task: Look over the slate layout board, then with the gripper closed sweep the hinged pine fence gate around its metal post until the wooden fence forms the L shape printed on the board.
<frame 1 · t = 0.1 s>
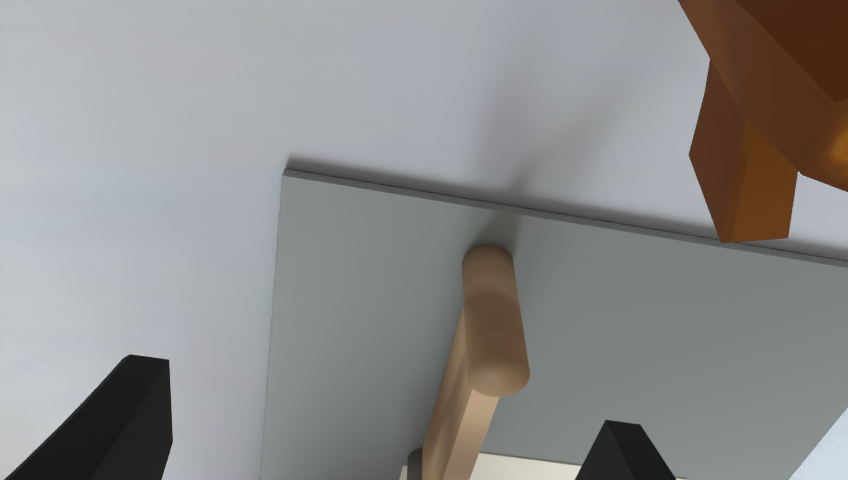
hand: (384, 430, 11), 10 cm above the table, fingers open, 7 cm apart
fence gate: (461, 410, 22), point 3 cm above the table, hinge at 0.0°
layout board: (530, 448, 27), on the table
fence base: (427, 451, 27), resting on layout board
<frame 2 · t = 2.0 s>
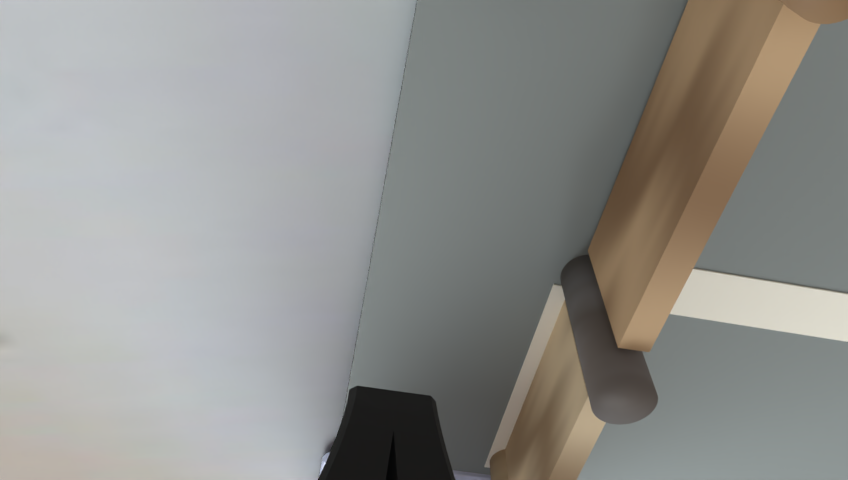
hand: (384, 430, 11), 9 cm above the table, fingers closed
fence gate: (693, 136, 15), point 3 cm above the table, hinge at 0.0°
layout board: (721, 262, 21), on the table
fence base: (584, 267, 21), resting on layout board
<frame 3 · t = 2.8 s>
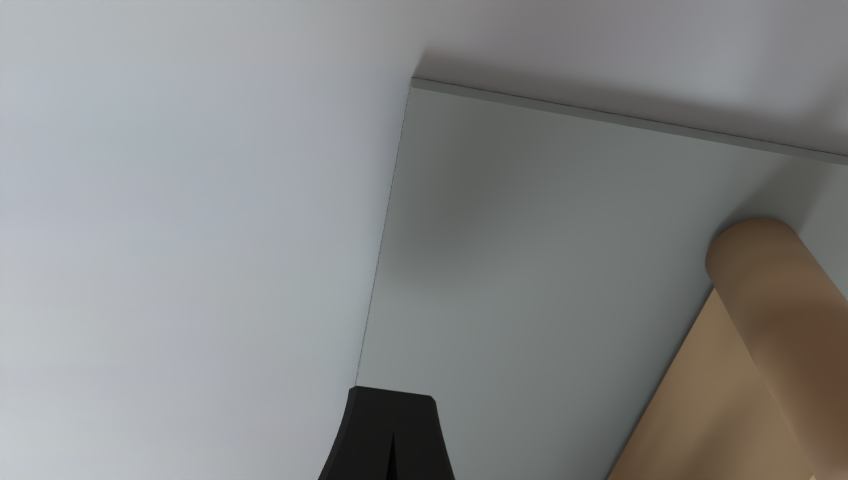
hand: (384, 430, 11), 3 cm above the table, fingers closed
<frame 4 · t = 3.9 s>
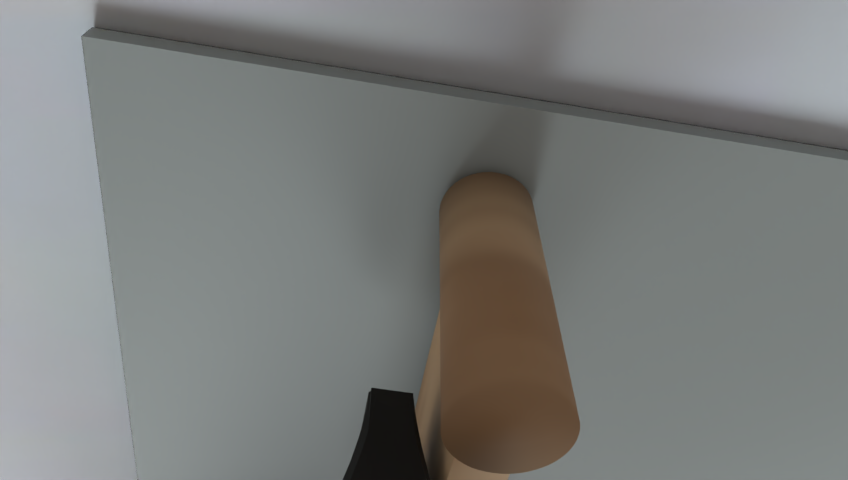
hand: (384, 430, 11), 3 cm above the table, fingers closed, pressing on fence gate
fence gate: (442, 475, 12), point 3 cm above the table, hinge at 0.3°, touching gripper
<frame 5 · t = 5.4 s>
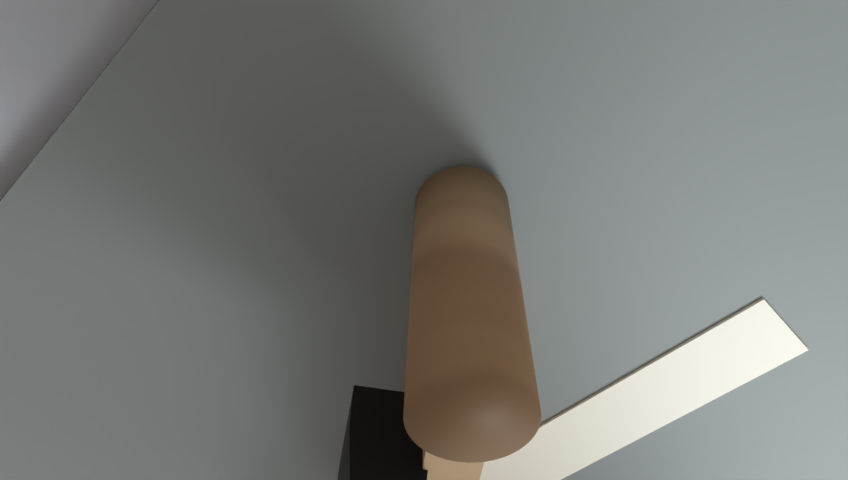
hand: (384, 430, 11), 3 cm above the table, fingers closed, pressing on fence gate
fence gate: (432, 469, 12), point 3 cm above the table, hinge at 50.6°, touching gripper
layout board: (496, 431, 16), on the table
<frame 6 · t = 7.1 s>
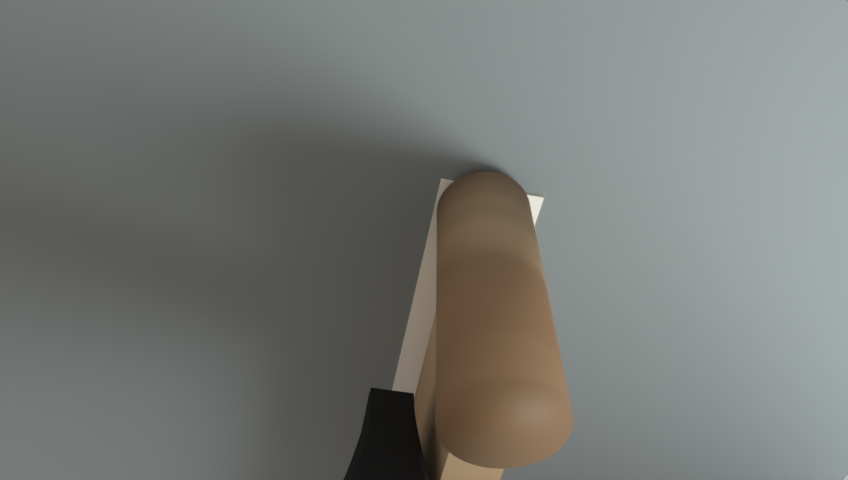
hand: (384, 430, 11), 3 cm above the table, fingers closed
fence gate: (438, 471, 12), point 3 cm above the table, hinge at 89.5°, touching gripper
layout board: (380, 411, 16), on the table
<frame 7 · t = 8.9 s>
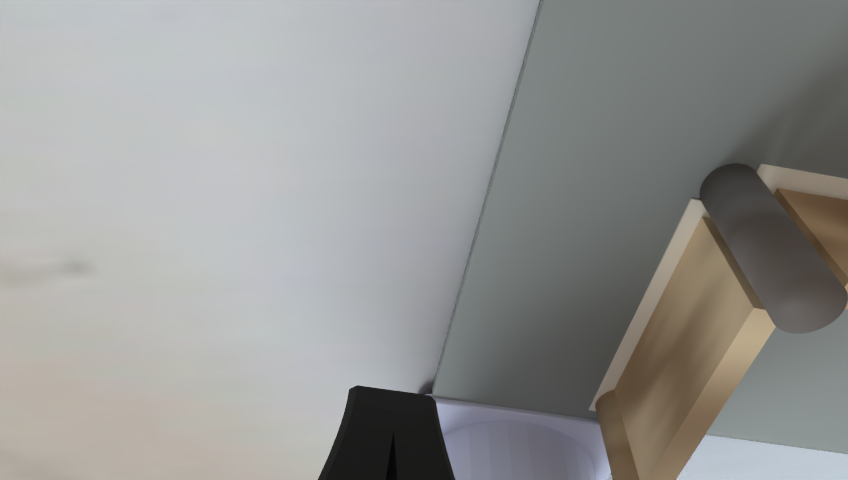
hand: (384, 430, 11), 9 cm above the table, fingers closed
fence base: (724, 181, 19), resting on layout board
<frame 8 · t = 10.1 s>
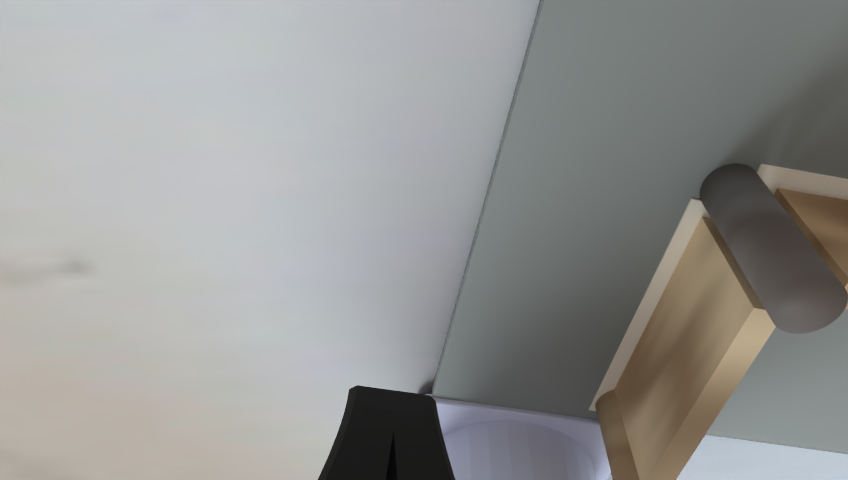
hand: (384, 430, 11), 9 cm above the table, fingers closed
fence base: (724, 181, 19), resting on layout board
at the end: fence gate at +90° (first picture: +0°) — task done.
